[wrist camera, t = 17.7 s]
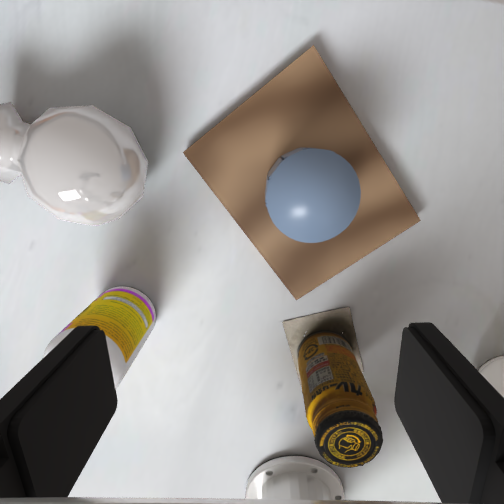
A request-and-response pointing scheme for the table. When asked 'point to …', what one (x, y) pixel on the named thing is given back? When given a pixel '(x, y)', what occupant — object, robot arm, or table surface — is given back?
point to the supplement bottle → (117, 325)
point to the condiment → (334, 387)
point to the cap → (312, 194)
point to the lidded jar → (494, 373)
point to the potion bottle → (74, 162)
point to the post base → (288, 139)
